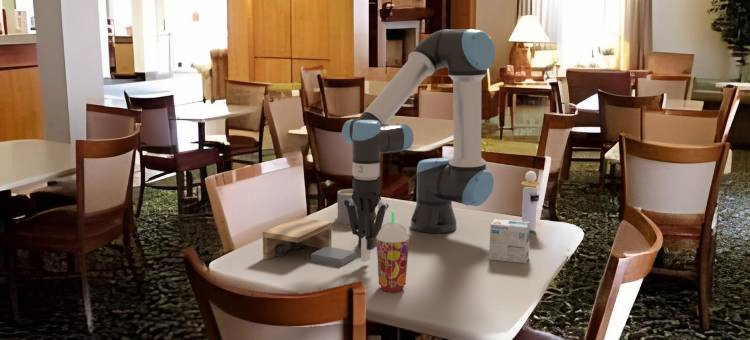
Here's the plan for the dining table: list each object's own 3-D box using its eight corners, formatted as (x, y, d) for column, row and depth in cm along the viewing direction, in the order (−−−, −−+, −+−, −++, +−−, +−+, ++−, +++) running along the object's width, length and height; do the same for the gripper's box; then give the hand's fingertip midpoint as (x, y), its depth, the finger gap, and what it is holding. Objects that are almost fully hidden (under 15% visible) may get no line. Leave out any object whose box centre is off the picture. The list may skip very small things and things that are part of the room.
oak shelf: (331, 248, 217) (331, 222, 215) (298, 265, 201) (298, 237, 199) (298, 242, 222) (297, 217, 220) (263, 258, 206) (262, 231, 205)
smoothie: (374, 283, 187) (374, 208, 183) (406, 282, 188) (407, 207, 184) (377, 294, 179) (377, 216, 175) (410, 293, 180) (411, 216, 176)
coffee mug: (368, 223, 244) (368, 195, 242) (338, 224, 242) (338, 195, 240) (363, 213, 257) (363, 186, 255) (335, 214, 255) (335, 187, 253)
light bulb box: (529, 257, 210) (531, 221, 207) (526, 264, 203) (528, 227, 201) (492, 253, 213) (494, 217, 211) (488, 260, 207) (489, 223, 205)
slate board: (355, 259, 207) (355, 251, 207) (341, 267, 200) (341, 259, 200) (325, 254, 212) (325, 246, 211) (311, 262, 205) (311, 253, 204)
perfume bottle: (515, 230, 237) (518, 170, 233) (527, 227, 240) (529, 168, 237) (529, 234, 232) (532, 173, 229) (540, 231, 236) (544, 171, 232)
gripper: (338, 177, 196) (338, 260, 201) (381, 182, 190) (380, 267, 195) (352, 172, 203) (351, 252, 207) (393, 177, 197) (392, 259, 201)
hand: (365, 259), depth 201 cm, fingers closed
